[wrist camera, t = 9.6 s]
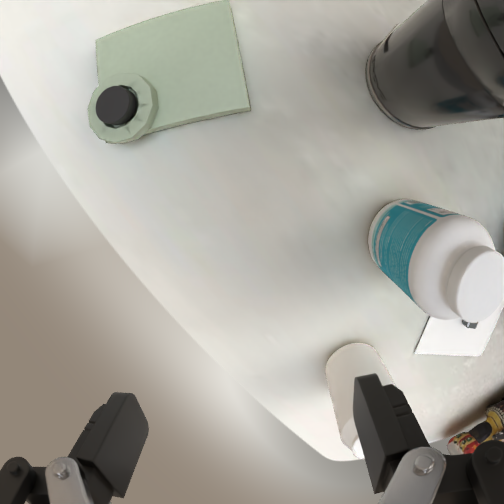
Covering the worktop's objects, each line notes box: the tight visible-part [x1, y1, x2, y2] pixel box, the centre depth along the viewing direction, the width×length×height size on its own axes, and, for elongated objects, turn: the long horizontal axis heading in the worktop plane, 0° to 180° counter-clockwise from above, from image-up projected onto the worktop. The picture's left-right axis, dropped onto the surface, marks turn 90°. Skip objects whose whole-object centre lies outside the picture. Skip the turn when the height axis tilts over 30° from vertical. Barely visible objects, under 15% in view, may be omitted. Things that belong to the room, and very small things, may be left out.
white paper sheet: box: [415, 298, 504, 356], centre depth 29 cm, size 12×12×2 cm
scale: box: [88, 0, 251, 144], centre depth 23 cm, size 14×12×4 cm
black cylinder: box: [95, 86, 137, 125], centre depth 21 cm, size 3×3×2 cm
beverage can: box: [325, 343, 396, 459], centre depth 26 cm, size 6×6×12 cm
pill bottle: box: [368, 199, 504, 323], centre depth 21 cm, size 8×7×14 cm
